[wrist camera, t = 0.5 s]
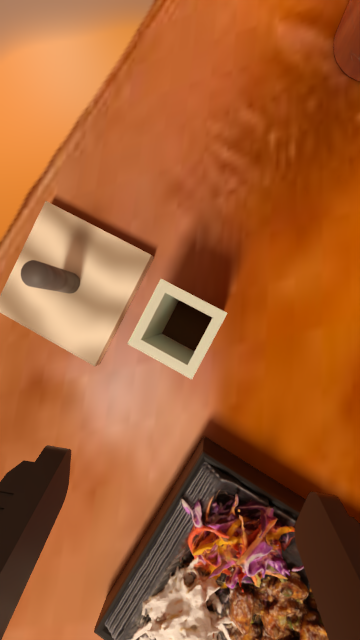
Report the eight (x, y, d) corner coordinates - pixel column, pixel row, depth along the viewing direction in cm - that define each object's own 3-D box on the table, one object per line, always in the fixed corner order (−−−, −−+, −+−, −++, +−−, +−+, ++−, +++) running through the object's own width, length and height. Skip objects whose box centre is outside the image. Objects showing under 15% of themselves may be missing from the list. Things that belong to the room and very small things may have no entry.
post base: (52, 205, 36) (3, 170, 27) (154, 257, 34) (134, 237, 26) (2, 309, 37) (-61, 306, 28) (99, 364, 35) (63, 378, 27)
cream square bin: (175, 290, 34) (160, 278, 24) (222, 314, 33) (227, 313, 23) (152, 336, 34) (127, 343, 24) (197, 361, 34) (191, 379, 24)
